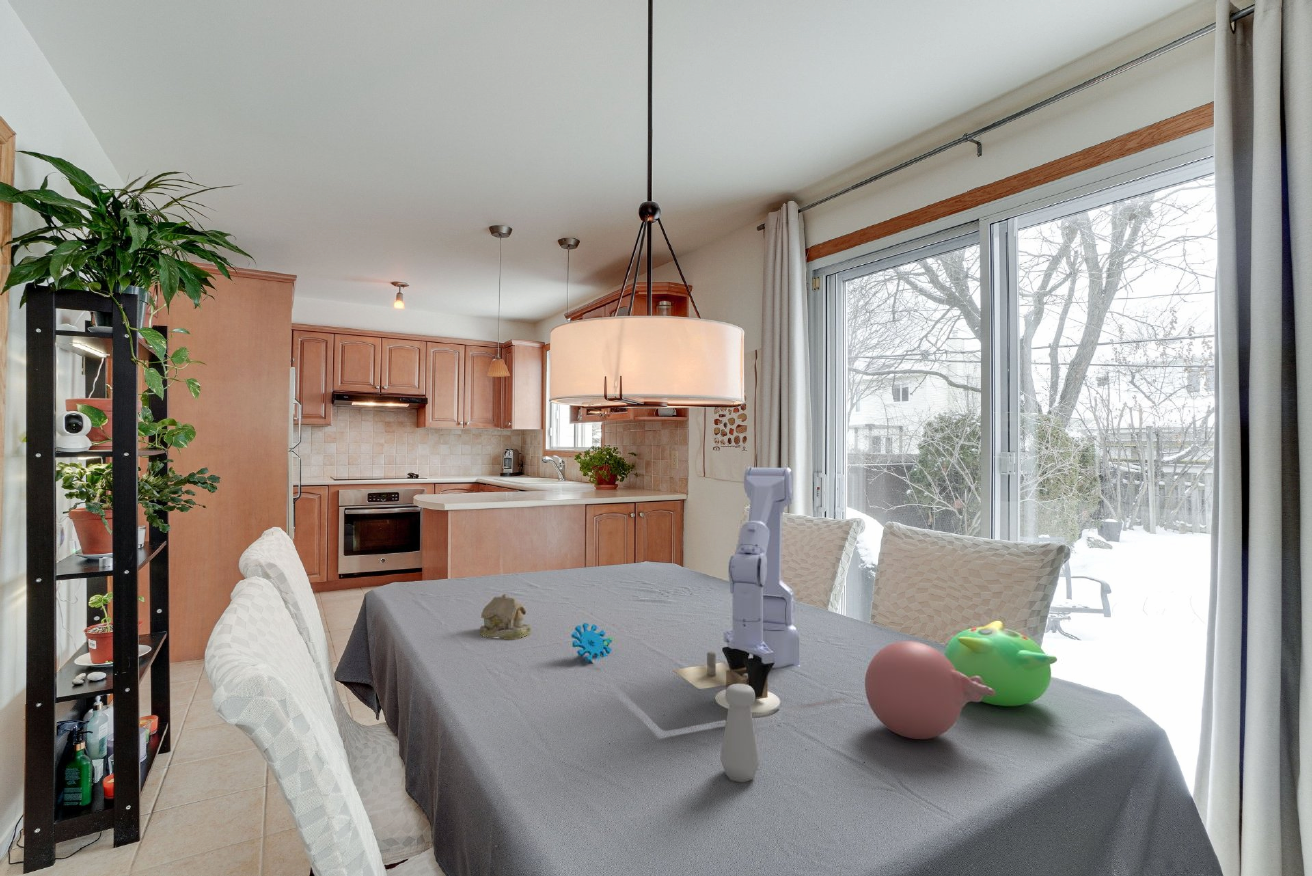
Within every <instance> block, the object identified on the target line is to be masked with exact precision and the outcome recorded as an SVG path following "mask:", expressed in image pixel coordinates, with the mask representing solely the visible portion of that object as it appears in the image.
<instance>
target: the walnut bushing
mask: <svg viewBox="0 0 1312 876" xmlns="http://www.w3.org/2000/svg"><path fill="white" fill-rule="evenodd" d="M745 673H747V670H746V667H744V668H738V669H732V670H726V685H725V690H726V689H727V688H728V687H729V686H730V685H732V684H746V685H749V679H748V677H743V674H745ZM768 676H769V675H768ZM768 676H767V679H766V682H765V686H764V690H763V694H762V696H761V697H755V700H756V699H762V698H767V697H768V692H769V691H768Z"/></svg>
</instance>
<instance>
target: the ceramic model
mask: <svg viewBox="0 0 1312 876" xmlns="http://www.w3.org/2000/svg"><path fill="white" fill-rule="evenodd" d="M526 614H527V610H526V608H525V607H524V605H523V603H521V602H520V601H518V600H517V599H516V598H514V597H509V593H508V594H506V593H503V594H502V595H501V596H494V597H492V600H491V601H489V603H488V604H487V605H485V606H484V608H483V609H482V612H481V616H480V617H481V619H483V625H481V626H480V627H479V630H478V632H479V634H480V633H481V636H482V635H484V636H488V637H487V638H489V637H499V638H507V639H506V640H518V639H517V638H519V639H522V638H525V637H527V636H529V635H530V633H531V629H532V627H531V625H530V624H525V623H524V619H525V616H524V615H526ZM526 635H527V636H526ZM484 636H483V637H484ZM524 636H525V637H524ZM521 637H522V638H521ZM515 638H516V639H515Z"/></svg>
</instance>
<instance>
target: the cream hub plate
mask: <svg viewBox="0 0 1312 876" xmlns="http://www.w3.org/2000/svg"><path fill="white" fill-rule="evenodd" d="M743 677H748V674H747V673H745V674H743ZM725 693H726V689H723V690H721V691H719V692H718V693H717V694H716V695H715V697H714V698H715V702H716V703H717V704H718V705H719V706H721V707H724V708H725V709H729V704H728V703H727V701H726V697H725ZM780 704H781V700H780V698H779V697H778V696H777V695H775V694H774V693H772V692H770V691H768V697H767V698H762V699H756V700H755V701H754V703H753V705H750V707H751V713H752V718H753V719H757V718H758V719H759V718H767V717H770V716H773V715H774V714H777V713H778V712H779V711H780V708H777V707H779V706H780ZM776 708H777V709H776Z"/></svg>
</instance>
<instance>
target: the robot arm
mask: <svg viewBox="0 0 1312 876" xmlns="http://www.w3.org/2000/svg"><path fill="white" fill-rule="evenodd" d="M743 488H744V489H743V490H744V493H745V494H746V497H747V498H748V499H749V500H750V503H749V514H748V521H747V522H745V523H744V524H742V526H741V529H740V533H739V536H738V540H737V545H736V550H735V554H734V555H731V556H730V558H729V562H728V580H729V591H730V594H732V599H731V600H732V601H731V602H732V603H731V604H732V605H731V606H732V607H731V609H732V611H731V614H732V615H731V616H732V617H731V618H732V619H731V620H732V621H731V622H732V623H731V625H732V628H731V629H732V630H729V631H723V642H724V643H726V646H723V647H722V649H721V652H722V653H723V655H724V657H725V659H726V661H727V664H728V665H727V666H729V668H730V670H732V669H738V668H744V667H746V670H747V674H748V679H749V686H751V687H752V688H753V690H754V692H755V697H761V696H762V694H763V690H764V686H765V682H766V679H767V676H769V674H770V672H771V670H772V669H779V668H784V667H786V666H791V665H795V666H797V667H799V668H802V665H800V636H799V632H798V630H797V627H795V625H794V621H795V616H796V615H795V613H796V606H795V605H796V603H795V593H794V590H793V589H792V588H791V587H790V586H788V585H787V584H786V583H785V582H784V581H782V565H783V564H782V560H783V559H782V558H783V557H782V556H783V555H782V553H783V515H784V512H785V511H784V510H785V507H788V506H790V505H792V503H793V502H792V501H793V496H794V489H793V488H794V475H793V471H792V470H791V468H790V467H788V466H787V467H754V466H753V467H752V466H748V467H747V468H746V469H745V471H744V474H743ZM750 655H751V656H752V657H750Z"/></svg>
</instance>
